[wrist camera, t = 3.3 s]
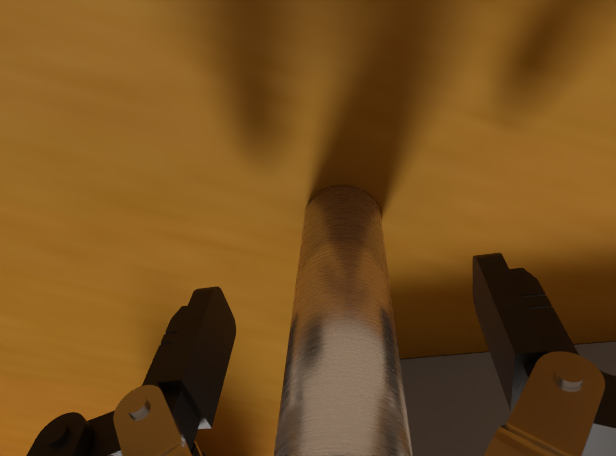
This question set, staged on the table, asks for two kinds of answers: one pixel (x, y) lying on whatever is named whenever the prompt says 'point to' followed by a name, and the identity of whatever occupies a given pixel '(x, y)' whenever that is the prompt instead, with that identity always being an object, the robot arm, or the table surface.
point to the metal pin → (342, 338)
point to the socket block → (466, 399)
